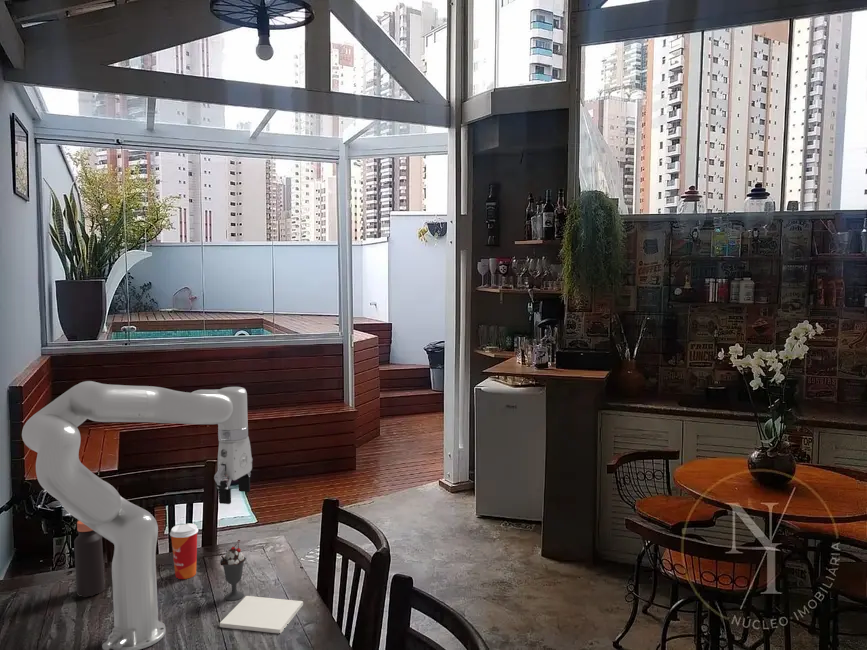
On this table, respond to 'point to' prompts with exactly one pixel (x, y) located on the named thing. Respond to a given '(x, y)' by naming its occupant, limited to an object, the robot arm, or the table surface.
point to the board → (262, 614)
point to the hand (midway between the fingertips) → (235, 497)
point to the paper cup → (184, 550)
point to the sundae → (233, 571)
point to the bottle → (88, 561)
